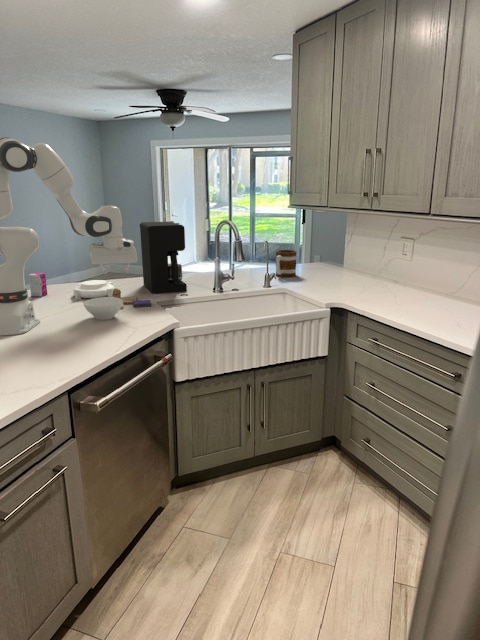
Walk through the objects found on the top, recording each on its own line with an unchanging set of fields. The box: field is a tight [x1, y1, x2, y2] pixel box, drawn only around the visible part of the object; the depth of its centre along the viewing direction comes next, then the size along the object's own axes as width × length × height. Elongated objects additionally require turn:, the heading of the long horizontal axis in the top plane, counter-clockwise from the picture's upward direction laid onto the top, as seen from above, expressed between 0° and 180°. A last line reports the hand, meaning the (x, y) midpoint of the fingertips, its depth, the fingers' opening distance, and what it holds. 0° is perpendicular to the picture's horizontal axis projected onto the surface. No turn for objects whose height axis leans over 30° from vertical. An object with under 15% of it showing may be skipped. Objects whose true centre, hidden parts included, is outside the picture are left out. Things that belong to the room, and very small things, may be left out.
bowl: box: [83, 296, 123, 321], centre depth 195 cm, size 16×16×7 cm
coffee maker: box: [138, 220, 188, 295], centre depth 243 cm, size 28×20×35 cm
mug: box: [275, 249, 298, 279], centre depth 279 cm, size 20×14×15 cm
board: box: [121, 296, 139, 306], centre depth 222 cm, size 12×12×1 cm
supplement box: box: [28, 272, 48, 298], centre depth 232 cm, size 6×6×12 cm
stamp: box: [112, 288, 125, 310], centre depth 210 cm, size 5×5×9 cm
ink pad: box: [132, 299, 152, 308], centre depth 216 cm, size 8×8×2 cm
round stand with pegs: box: [72, 279, 116, 301], centre depth 234 cm, size 24×24×7 cm
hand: (115, 273), depth 206 cm, fingers open, 8 cm apart
